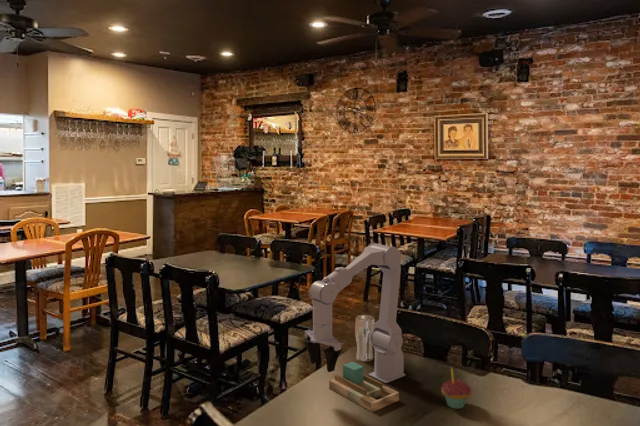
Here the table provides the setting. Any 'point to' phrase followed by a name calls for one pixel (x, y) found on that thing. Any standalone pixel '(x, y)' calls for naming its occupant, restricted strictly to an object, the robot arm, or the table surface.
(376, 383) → the channel board
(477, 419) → the table surface
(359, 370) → the teal block
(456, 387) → the cupcake
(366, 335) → the beer glass
